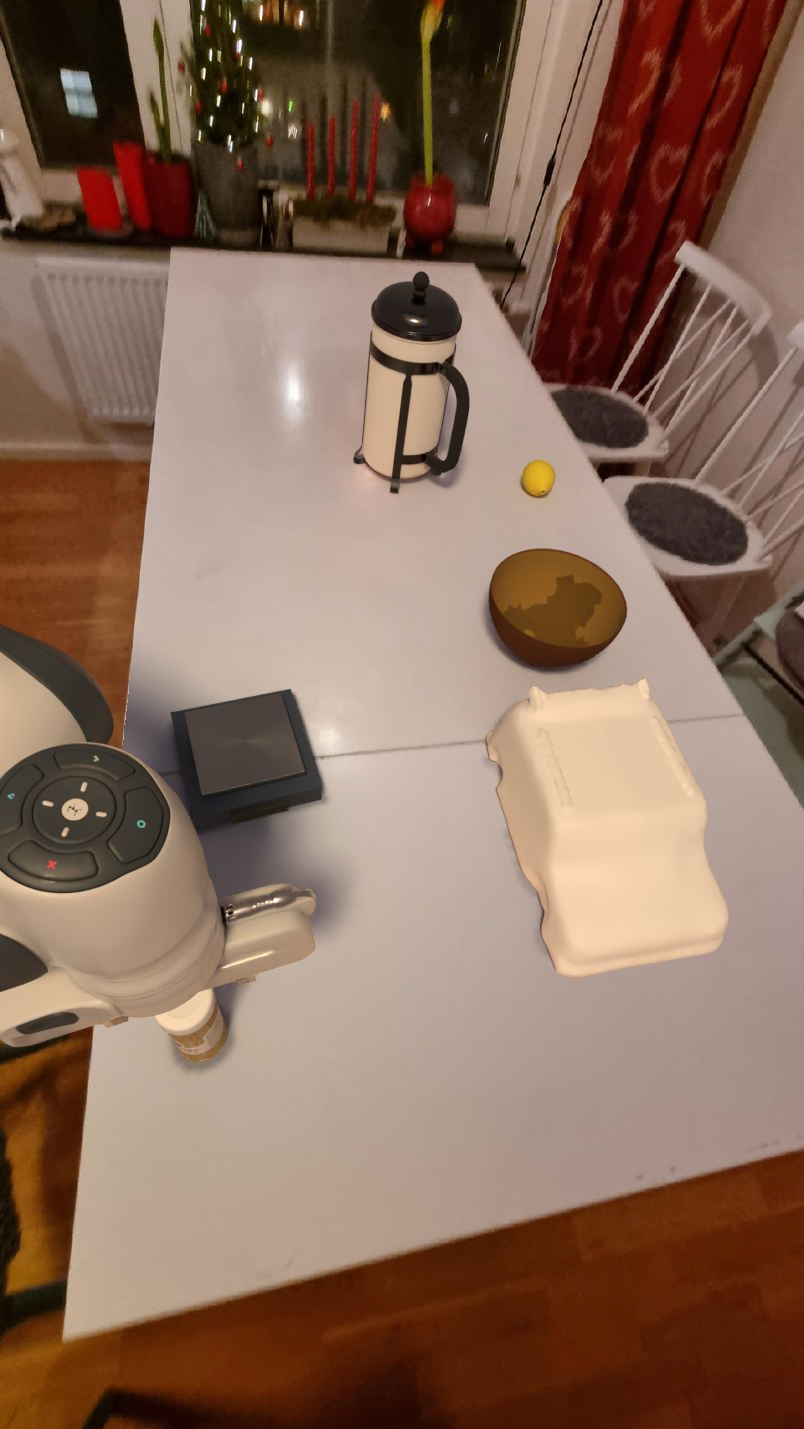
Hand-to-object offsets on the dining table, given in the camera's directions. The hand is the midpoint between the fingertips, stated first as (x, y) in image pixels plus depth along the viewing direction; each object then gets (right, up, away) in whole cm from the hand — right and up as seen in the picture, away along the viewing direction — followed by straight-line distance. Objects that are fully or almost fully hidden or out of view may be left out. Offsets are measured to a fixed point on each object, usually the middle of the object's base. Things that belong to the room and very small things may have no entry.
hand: (182, 993), depth 53 cm
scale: (-1, +16, +27) cm, 31 cm away
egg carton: (+38, +7, +27) cm, 47 cm away
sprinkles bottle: (-1, -8, +10) cm, 13 cm away
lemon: (+39, +59, +64) cm, 95 cm away
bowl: (+35, +30, +43) cm, 64 cm away
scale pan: (-1, +17, +25) cm, 30 cm away
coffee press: (+17, +62, +64) cm, 90 cm away
